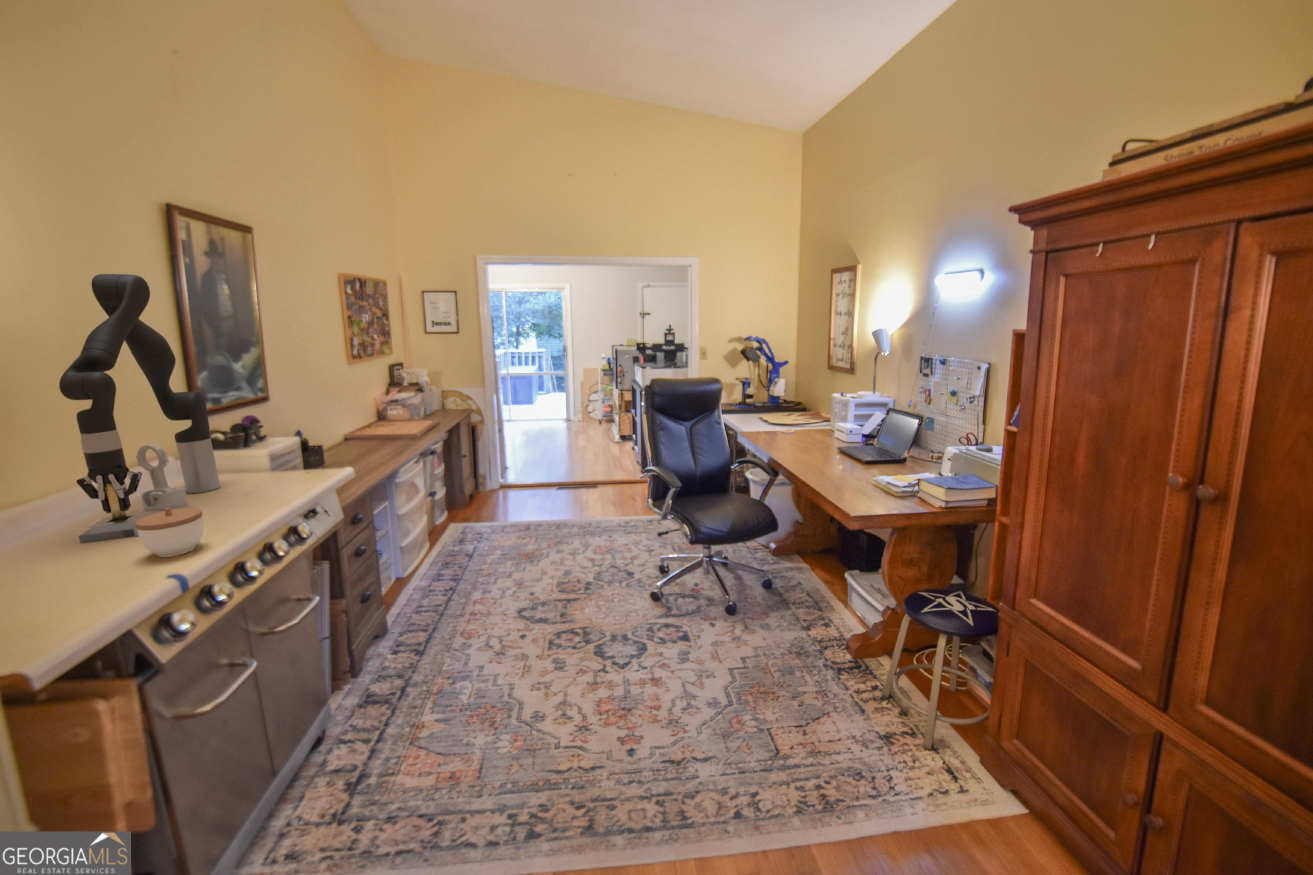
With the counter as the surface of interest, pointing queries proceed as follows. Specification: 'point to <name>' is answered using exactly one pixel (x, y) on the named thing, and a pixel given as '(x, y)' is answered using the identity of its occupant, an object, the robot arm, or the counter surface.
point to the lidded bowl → (171, 531)
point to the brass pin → (114, 503)
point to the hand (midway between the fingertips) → (117, 511)
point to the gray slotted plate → (115, 527)
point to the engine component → (159, 483)
